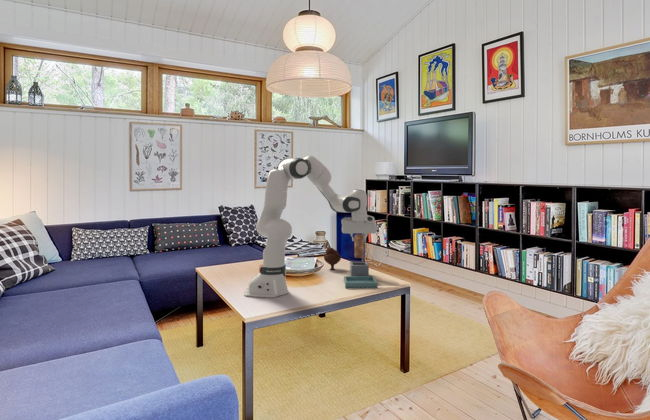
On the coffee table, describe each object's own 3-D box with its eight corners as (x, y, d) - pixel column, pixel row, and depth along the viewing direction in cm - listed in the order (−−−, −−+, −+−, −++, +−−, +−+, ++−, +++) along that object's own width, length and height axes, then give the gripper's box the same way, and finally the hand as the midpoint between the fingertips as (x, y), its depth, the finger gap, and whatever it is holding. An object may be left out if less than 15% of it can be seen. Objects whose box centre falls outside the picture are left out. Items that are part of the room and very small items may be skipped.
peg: (354, 258, 228) (355, 235, 227) (354, 256, 233) (354, 234, 232) (363, 258, 229) (363, 235, 228) (362, 256, 234) (362, 234, 232)
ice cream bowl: (334, 274, 241) (334, 250, 240) (320, 271, 248) (320, 248, 247) (344, 270, 250) (344, 247, 248) (330, 268, 256) (330, 245, 255)
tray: (345, 288, 211) (345, 282, 210) (343, 281, 225) (343, 276, 224) (377, 288, 211) (377, 282, 211) (373, 281, 225) (373, 275, 225)
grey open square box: (351, 280, 227) (351, 265, 226) (349, 275, 237) (349, 261, 236) (368, 279, 227) (368, 265, 227) (366, 275, 237) (366, 261, 237)
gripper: (341, 218, 226) (341, 241, 227) (377, 218, 226) (376, 241, 227) (341, 216, 232) (340, 240, 233) (375, 216, 232) (375, 240, 234)
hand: (358, 241), depth 230 cm, fingers closed on peg, 5 cm apart
